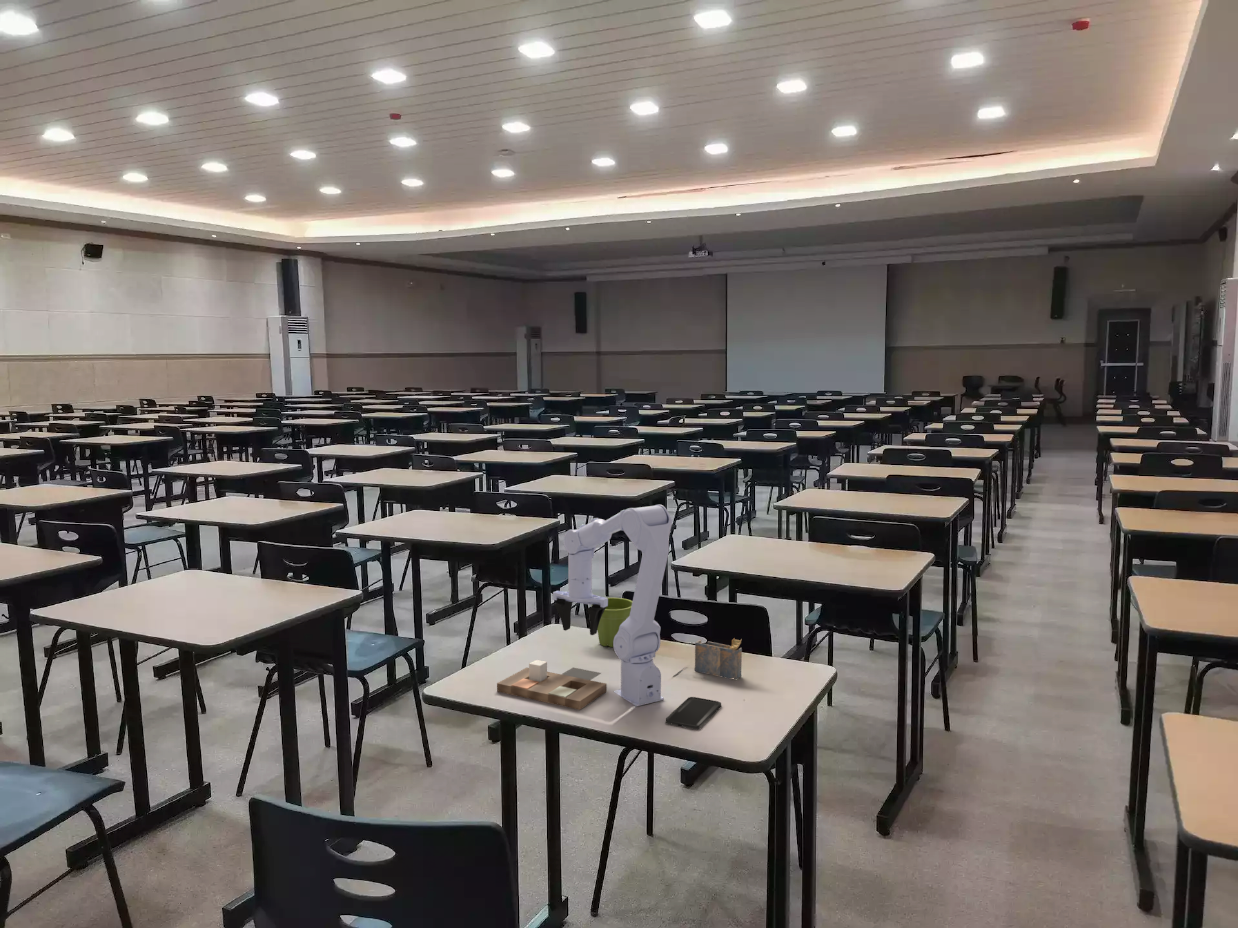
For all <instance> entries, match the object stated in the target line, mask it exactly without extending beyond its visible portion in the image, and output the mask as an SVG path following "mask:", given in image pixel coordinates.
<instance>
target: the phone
mask: <svg viewBox="0 0 1238 928" xmlns="http://www.w3.org/2000/svg"><path fill="white" fill-rule="evenodd" d="M720 707H721V708H722V702H720V701H717V700H713V699H708V698H707V699H706V698H701V697H696V696H689V697H687V699H685V700H684V701H683V702H682V703H681V704H680V705H679V706H678V707H676V708H675V709H674V710H673V711H672V712H671V713H670V714H669V715H668V716H666V718H665V724H667V725H668V726H672V727H673V726H674V727H679V728H683V729H689V730H694V731H697V730H701V729H702V728H703V726H704V725H706V724H707V722H708V721H710V719H712V718H713V716H714V715H715V714H716V713H717V712H718V711H719V710H720V709H721V708H720ZM719 708H720V709H719ZM701 727H702V728H701ZM700 728H701V729H700Z"/></svg>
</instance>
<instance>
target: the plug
mask: <svg viewBox="0 0 1238 928" xmlns="http://www.w3.org/2000/svg"><path fill="white" fill-rule="evenodd" d="M528 668H529V680H533V681H538V682H541V681H543V680H545V679H546V678H547V672H548V661H544V660H539V659H535V660H534V661H532V662H529V664H528Z"/></svg>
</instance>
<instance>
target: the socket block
mask: <svg viewBox="0 0 1238 928" xmlns="http://www.w3.org/2000/svg"><path fill="white" fill-rule="evenodd" d="M562 674H563V673H555V672H550V671H547V678H546V679H545V680H543V681H541V682H538V681H533V680H529V667H525V668H523V669H521V670H519V671H517V672H515V673H513V674H512V675H510V676H508V677H505V678H504V679H502V680H499V681H498V682H497V683H496V692H498V693H503V694H507V695H511V696H516V697H521V698H525V699H529V700H534V701H539V702H543V703H546V704H551V705H555V706H560V707H564V708H568V709H574V710H578V711H580V710H582V709H583V708H585V707H586V706H588V705H589V704H591V703H592V702H594V701H595V700H596V699H598V698H599V697H601V696H602V695H604V694H605V693H607V683H606V682H601V681H595V680H592V679H591V680H586V679H581V678H576V677H571V676H567V675H562Z"/></svg>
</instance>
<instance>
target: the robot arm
mask: <svg viewBox="0 0 1238 928" xmlns="http://www.w3.org/2000/svg"><path fill="white" fill-rule="evenodd" d="M672 526H673V519H672V517H671V515H670V513H669V511H668V509H667V508H666V507H665V506H664V505H662V504H655V505H650V506H642V507H641V506H639V507H629V508H626V509H623V510H620V512H618V513H617V514H615V515H612V516H610V518H607V519H606V520H605V519H602V518H599V517H594V518H591V519H590V522H589V523H587V524H581V525H580V526H579V528H577V529H568V530H567V531H566V532H565V534H564V535H563V540H562V542H563V547H564V549H565V551H566V552H567V553H568V555H567V556H568V557H567V558H568V570H567V571H568V573H567V574H568V578H567V579H568V582H567V583H568V585H567V586H568V587H567V588H568V591H567V590H564V591H563V590H556V591H553V592H552V600H553V601H556V602H554V603H553V604H554V605H553V606H554V608H555V610H556V612H557V613H558V616H559V619H560V621H561V624H562V630H563V631H565V632H566V631H568V630H570V629H571V625H572V624H571V616H572V615H571V614H572V609H573V608H572V606H573V603H577V604H584V605H589V606H588V607H587V609H586V611H587V614H588V618H589V635H590V636H594V635H596V634H598V631H597V629H598V625H599V622H600V619H601V616H602V614H603V612H604V610H605V609H606V606H608V598H609V597H604V596H599V595H597V594H594V593H593V591H592V590H593V580H592V579H593V578H592V577H593V572H592V571H593V559H594V556H595V550H596V548H597V547H599V546H600V545H603V544H605V543H606V542H607V543H608V542H609V541H610V540H611V538H612V535H613V534H615V533H617V532H620V531H623V532H624V533H625V535H626V536H627V537H628V539H629V541H630V542H632V544H633V545H634V547H635V548H636V550H638V551H641V554H642V555H641V560H640V564H639V570H638V574H637V579H636V584H635V588H634V593H633V597H632V601H633V602H632V607H631V611H630V616H629V617H628V618H627V619H626V620H625V621H624V622H623V623H622V624H621V625H620V627H619V631H618V633H617V634H616V635H615V637H614V641H613V647H612V648H613V650H614V653H615V654H616V656H617V657H618V659H619V660H620V689H616V690H613V691H612V692H613V693H615V694H616V695H617V696H619V697H621V698H622V699H624V700H626V701H627V702H629V703H631V704H632V706H633V707H640V706H643V705H648V704H651V703H656V702H659V701H664V700H665V698H664V697H663V695H662V694H661V693H662V673H661V670H660V669H659V668H658V667H657V666H656V665H655V664H656V663H654V659H653V658H655V657H656V653H657V652H658V651H659V649H660V648H661V635H660V634H661V626H660V624H659V623H658V621H656V620H655V616H656V611H657V605H658V602H659V597H660V593H661V587H662V584H663V580H664V576H665V570H666V566H667V562H668V557H669V552H670V544H669V543H670V541H669V539H670V533H671V530H672ZM591 605H592V606H591Z"/></svg>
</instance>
